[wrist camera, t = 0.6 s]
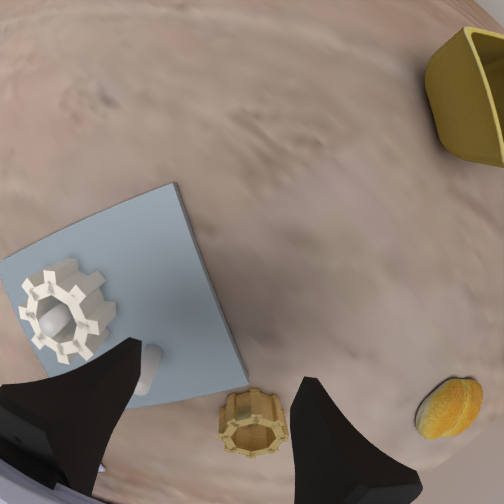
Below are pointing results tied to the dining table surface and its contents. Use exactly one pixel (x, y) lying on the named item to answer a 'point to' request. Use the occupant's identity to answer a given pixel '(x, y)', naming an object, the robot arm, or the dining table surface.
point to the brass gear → (249, 412)
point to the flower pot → (469, 95)
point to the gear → (79, 302)
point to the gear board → (141, 297)
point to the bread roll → (449, 409)
